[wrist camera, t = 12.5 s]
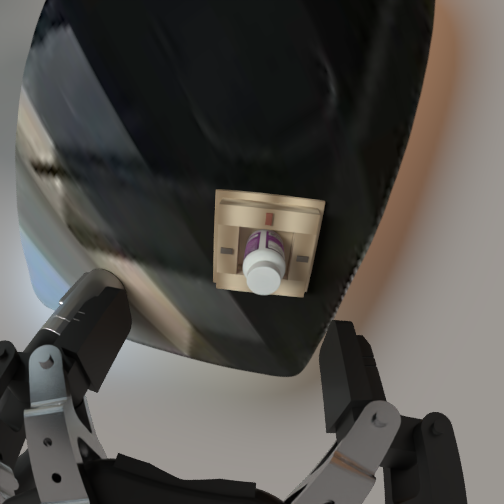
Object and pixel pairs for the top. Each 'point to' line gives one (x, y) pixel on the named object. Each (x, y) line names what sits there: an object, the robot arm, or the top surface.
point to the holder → (272, 218)
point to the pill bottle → (264, 261)
